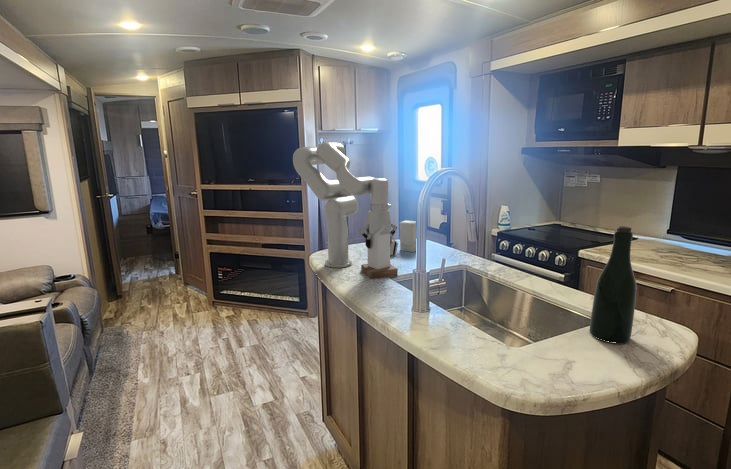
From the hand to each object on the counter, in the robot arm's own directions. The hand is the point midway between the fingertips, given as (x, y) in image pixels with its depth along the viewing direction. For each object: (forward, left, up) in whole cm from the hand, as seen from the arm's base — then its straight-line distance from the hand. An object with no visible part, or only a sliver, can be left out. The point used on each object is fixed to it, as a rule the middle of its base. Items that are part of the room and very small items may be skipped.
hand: (378, 246), depth 175 cm
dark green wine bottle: (+82, +37, -12) cm, 90 cm away
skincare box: (-29, +31, -12) cm, 44 cm away
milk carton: (0, 0, -9) cm, 9 cm away
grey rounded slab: (-30, +17, -12) cm, 36 cm away
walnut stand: (0, 0, -12) cm, 12 cm away
